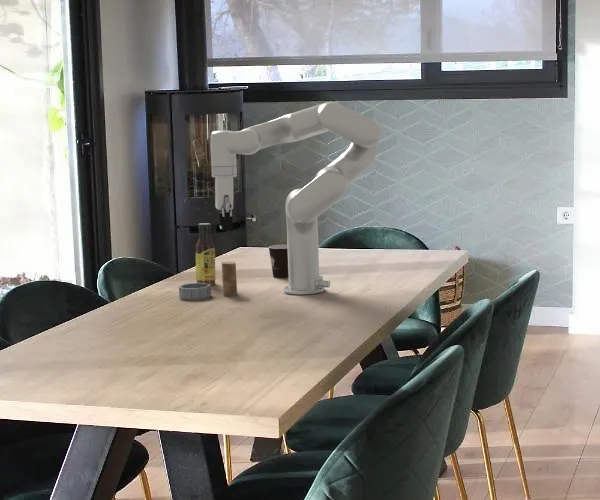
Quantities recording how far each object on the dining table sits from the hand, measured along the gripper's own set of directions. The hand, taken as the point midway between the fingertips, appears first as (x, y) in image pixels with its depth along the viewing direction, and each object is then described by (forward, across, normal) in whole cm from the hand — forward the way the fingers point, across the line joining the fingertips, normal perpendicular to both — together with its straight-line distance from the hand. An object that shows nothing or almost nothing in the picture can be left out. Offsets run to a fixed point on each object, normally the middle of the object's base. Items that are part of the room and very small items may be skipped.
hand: (226, 227), depth 340 cm
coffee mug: (+21, -27, +20) cm, 40 cm away
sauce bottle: (+21, -20, -6) cm, 29 cm away
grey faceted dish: (+21, 0, -10) cm, 23 cm away
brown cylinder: (+21, 0, 0) cm, 21 cm away
